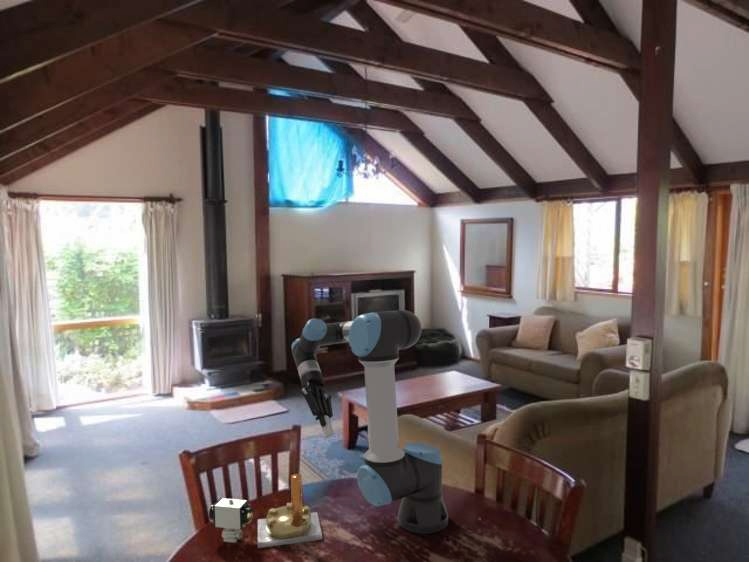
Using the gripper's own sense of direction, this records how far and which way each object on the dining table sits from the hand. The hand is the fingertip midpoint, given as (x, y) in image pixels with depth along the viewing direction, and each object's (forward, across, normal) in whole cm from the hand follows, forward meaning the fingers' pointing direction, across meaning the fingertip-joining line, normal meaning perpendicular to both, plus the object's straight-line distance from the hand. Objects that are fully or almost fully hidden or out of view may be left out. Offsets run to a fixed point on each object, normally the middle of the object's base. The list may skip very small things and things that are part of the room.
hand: (329, 435), depth 164 cm
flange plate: (+20, +4, -21) cm, 30 cm away
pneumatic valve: (+18, +15, -32) cm, 40 cm away
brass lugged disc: (+19, +5, -20) cm, 28 cm away
